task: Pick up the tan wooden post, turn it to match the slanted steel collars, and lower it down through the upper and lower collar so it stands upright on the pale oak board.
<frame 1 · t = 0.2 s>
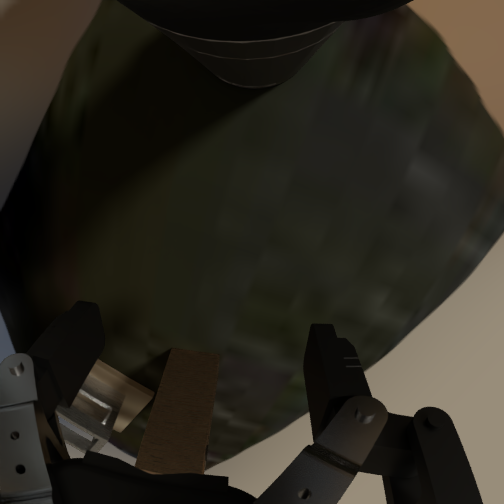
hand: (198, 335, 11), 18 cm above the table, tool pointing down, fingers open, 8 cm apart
holder board: (89, 385, 39), on the table
collar frame: (77, 410, 34), on the holder board, point 5 cm above the table
tan wooden post: (195, 363, 35), on the table
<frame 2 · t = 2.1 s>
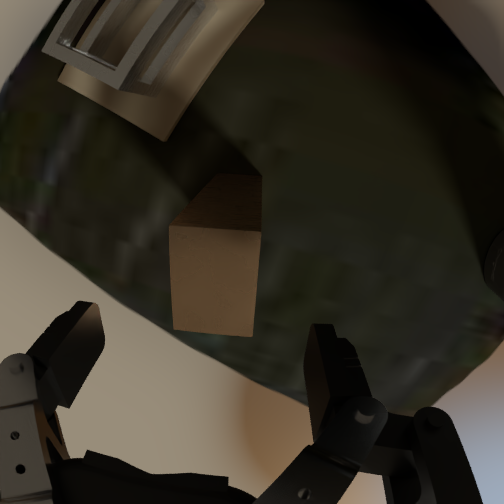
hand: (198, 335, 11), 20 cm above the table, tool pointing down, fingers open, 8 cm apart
holder board: (153, 36, 23), on the table
collar frame: (133, 22, 19), on the holder board, point 5 cm above the table
tan wooden post: (238, 203, 29), on the table
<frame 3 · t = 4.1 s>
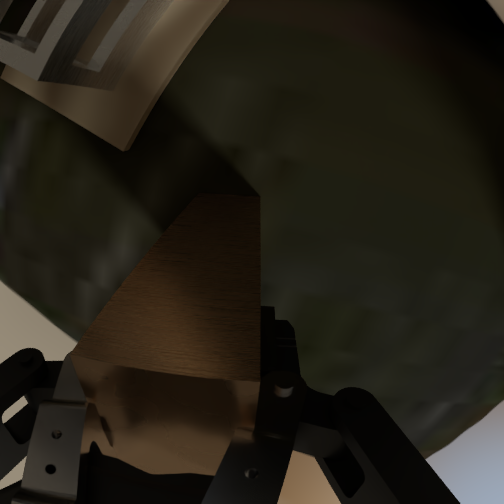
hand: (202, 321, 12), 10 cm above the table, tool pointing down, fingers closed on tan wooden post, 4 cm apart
holder board: (113, 11, 15), on the table
tan wooden post: (227, 234, 22), on the table, touching gripper
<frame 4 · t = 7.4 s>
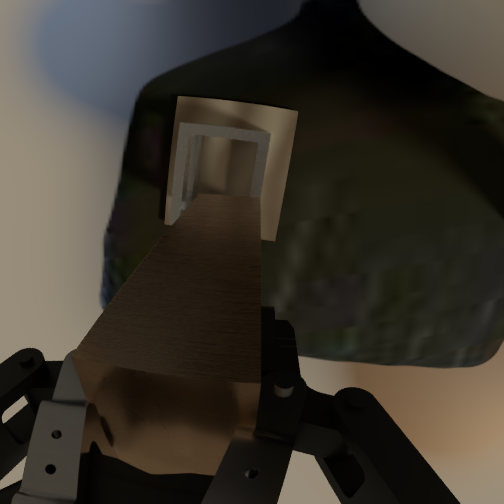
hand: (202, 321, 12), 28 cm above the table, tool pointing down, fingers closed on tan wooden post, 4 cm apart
holder board: (228, 167, 37), on the table
collar frame: (222, 173, 33), on the holder board, point 5 cm above the table
tan wooden post: (227, 235, 22), point 18 cm above the table, touching gripper
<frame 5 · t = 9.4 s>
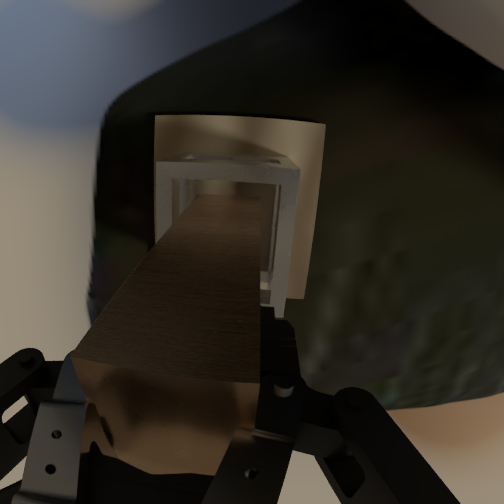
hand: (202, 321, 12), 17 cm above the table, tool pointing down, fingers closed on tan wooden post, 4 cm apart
holder board: (234, 208, 28), on the table
collar frame: (229, 225, 23), on the holder board, point 5 cm above the table
tan wooden post: (227, 235, 22), point 7 cm above the table, touching gripper
when the fingers open (13 cm above the table, at t = 11.0 s): tan wooden post drops 1 cm, resting on holder board.
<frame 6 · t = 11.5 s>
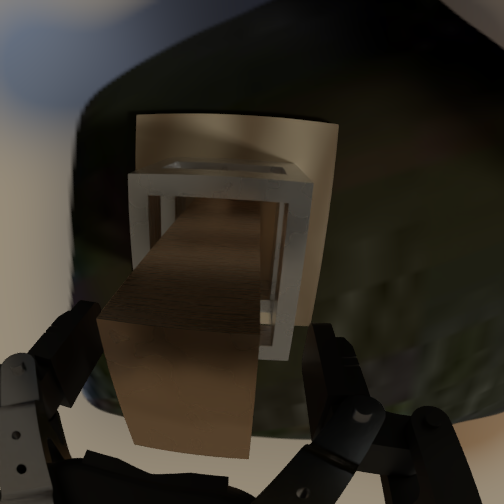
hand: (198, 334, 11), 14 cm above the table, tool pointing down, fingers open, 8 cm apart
holder board: (230, 223, 24), on the table
collar frame: (223, 248, 19), on the holder board, point 5 cm above the table
tan wooden post: (229, 229, 23), point 1 cm above the table, touching holder board
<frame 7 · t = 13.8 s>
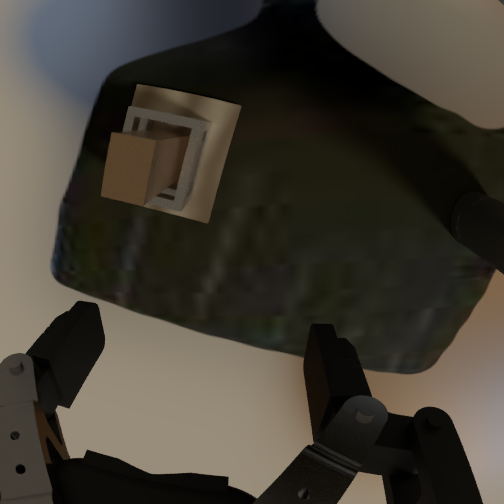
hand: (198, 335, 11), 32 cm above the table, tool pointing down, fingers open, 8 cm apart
holder board: (173, 151, 40), on the table
collar frame: (163, 155, 35), on the holder board, point 5 cm above the table
tan wooden post: (171, 153, 39), point 1 cm above the table, touching holder board
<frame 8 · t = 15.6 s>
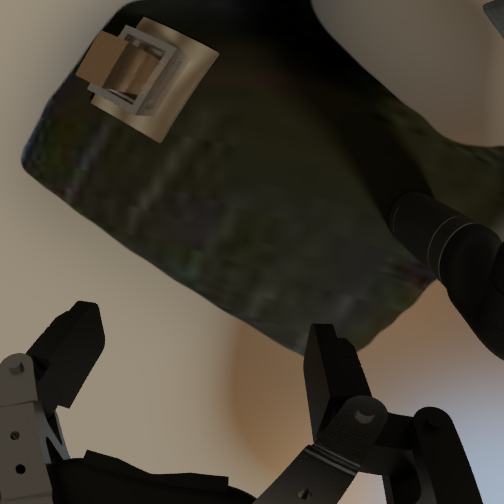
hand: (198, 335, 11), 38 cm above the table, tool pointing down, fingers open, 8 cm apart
holder board: (151, 77, 41), on the table
collar frame: (140, 72, 36), on the holder board, point 5 cm above the table
tan wooden post: (149, 76, 40), point 1 cm above the table, touching holder board
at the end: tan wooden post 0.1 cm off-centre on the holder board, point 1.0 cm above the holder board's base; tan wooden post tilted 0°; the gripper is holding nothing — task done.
